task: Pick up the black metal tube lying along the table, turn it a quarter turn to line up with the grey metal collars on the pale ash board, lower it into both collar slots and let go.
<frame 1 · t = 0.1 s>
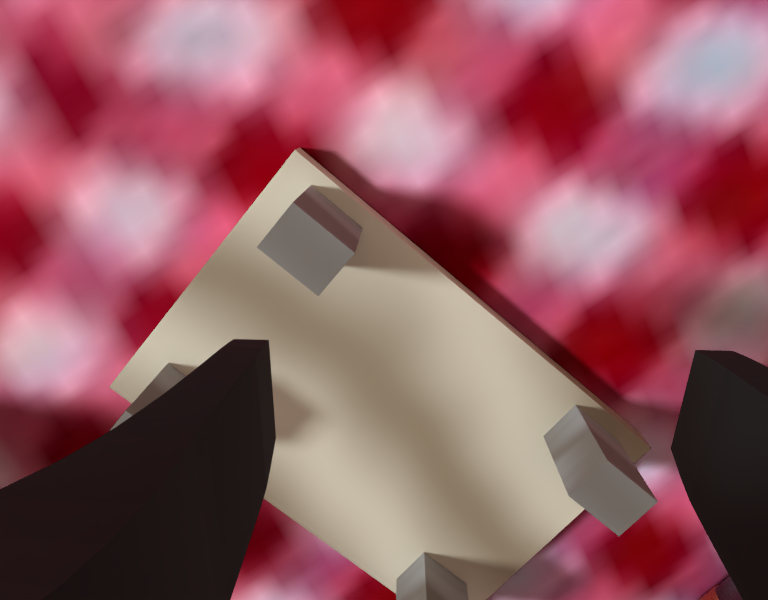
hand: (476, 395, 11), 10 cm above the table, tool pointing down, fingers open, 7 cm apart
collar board: (381, 404, 23), on the table
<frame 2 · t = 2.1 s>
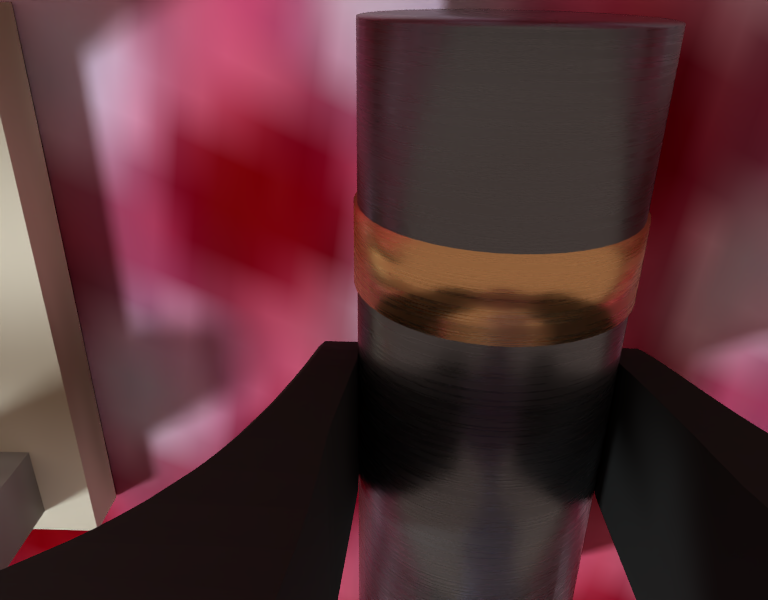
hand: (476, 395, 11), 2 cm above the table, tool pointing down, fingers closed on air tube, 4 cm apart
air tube: (468, 348, 13), on the table, touching gripper
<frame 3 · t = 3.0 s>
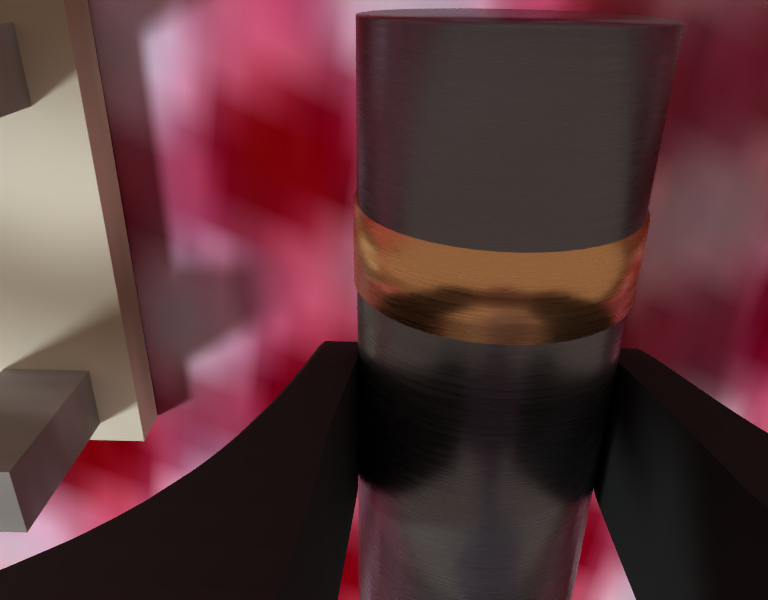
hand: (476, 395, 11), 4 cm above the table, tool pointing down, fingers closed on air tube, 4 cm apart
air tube: (467, 347, 13), point 3 cm above the table, touching gripper
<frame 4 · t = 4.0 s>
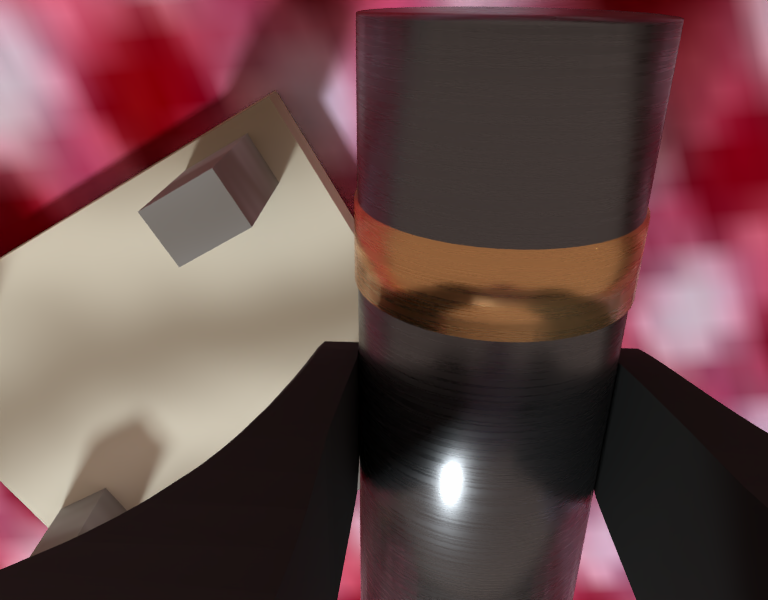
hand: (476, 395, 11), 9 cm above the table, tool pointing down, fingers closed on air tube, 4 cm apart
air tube: (468, 345, 13), point 7 cm above the table, touching gripper
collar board: (166, 350, 21), on the table
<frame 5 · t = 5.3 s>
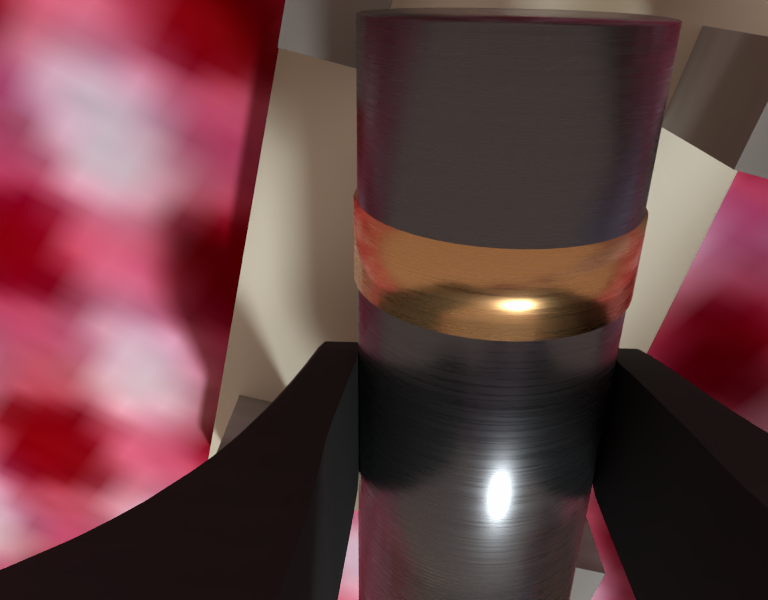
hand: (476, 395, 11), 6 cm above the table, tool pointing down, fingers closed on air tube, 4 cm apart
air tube: (465, 345, 13), point 4 cm above the table, touching gripper
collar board: (455, 265, 16), on the table
when the fingers open (4 cm above the table, at t = 6.0 s): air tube drops 2 cm, resting on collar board.
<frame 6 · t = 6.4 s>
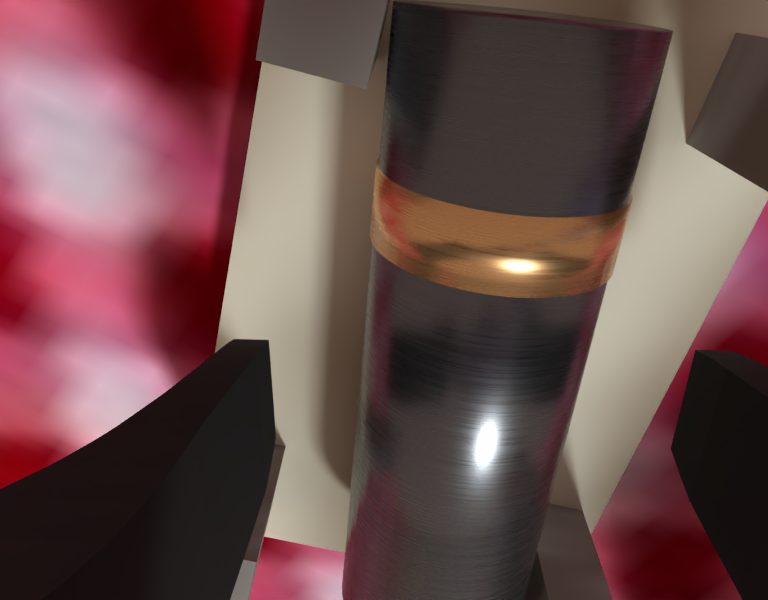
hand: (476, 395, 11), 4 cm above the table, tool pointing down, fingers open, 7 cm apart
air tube: (457, 313, 14), point 1 cm above the table, touching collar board
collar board: (458, 292, 15), on the table
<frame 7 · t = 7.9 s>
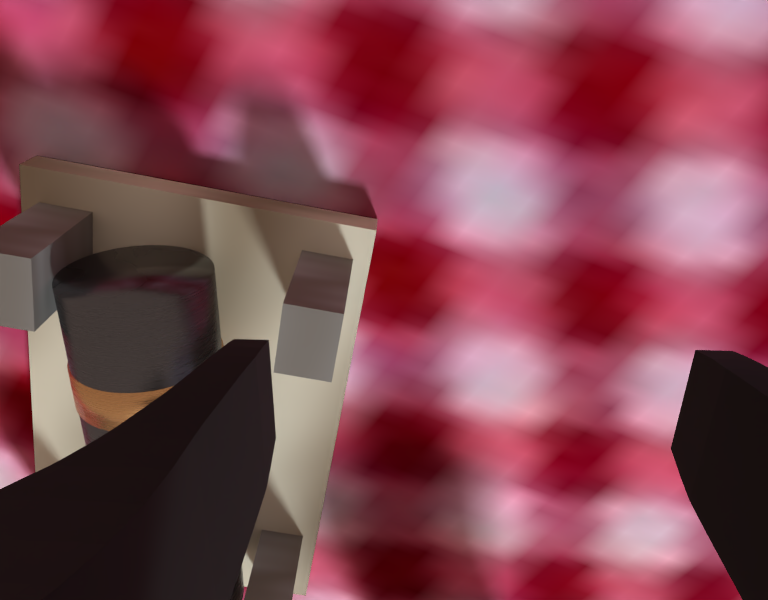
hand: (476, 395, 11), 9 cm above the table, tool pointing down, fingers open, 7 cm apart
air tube: (182, 415, 22), point 1 cm above the table, touching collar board
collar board: (194, 397, 23), on the table
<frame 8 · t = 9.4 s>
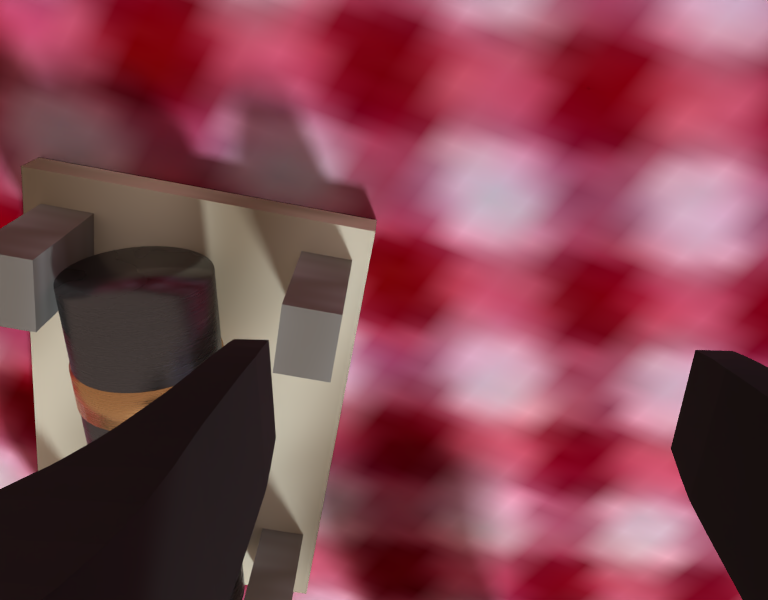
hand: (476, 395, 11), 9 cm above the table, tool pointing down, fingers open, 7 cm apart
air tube: (183, 415, 22), point 1 cm above the table, touching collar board
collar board: (194, 397, 23), on the table
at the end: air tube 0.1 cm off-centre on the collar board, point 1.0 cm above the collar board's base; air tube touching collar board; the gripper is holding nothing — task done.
